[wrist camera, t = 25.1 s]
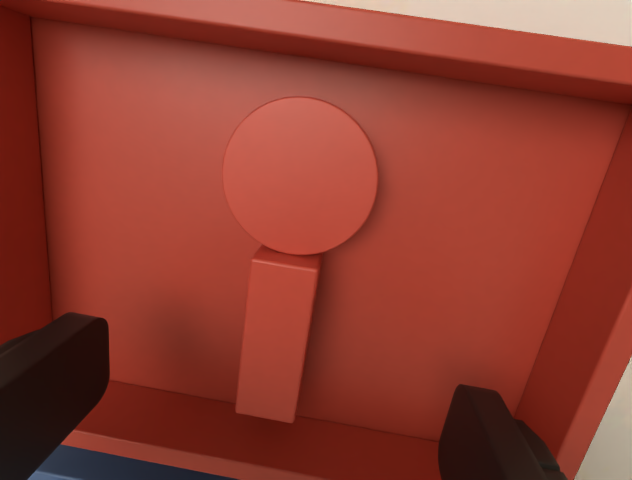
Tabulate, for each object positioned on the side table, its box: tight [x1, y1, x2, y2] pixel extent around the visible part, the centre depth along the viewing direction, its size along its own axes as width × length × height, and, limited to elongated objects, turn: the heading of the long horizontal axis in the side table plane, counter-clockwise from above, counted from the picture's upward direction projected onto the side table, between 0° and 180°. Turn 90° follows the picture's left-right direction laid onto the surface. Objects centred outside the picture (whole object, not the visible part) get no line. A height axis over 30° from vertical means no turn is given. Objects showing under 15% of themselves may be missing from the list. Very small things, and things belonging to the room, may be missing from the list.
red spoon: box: [222, 96, 379, 423], centre depth 9 cm, size 8×4×2 cm, turn 171°
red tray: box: [0, 0, 632, 480], centre depth 9 cm, size 15×11×3 cm
